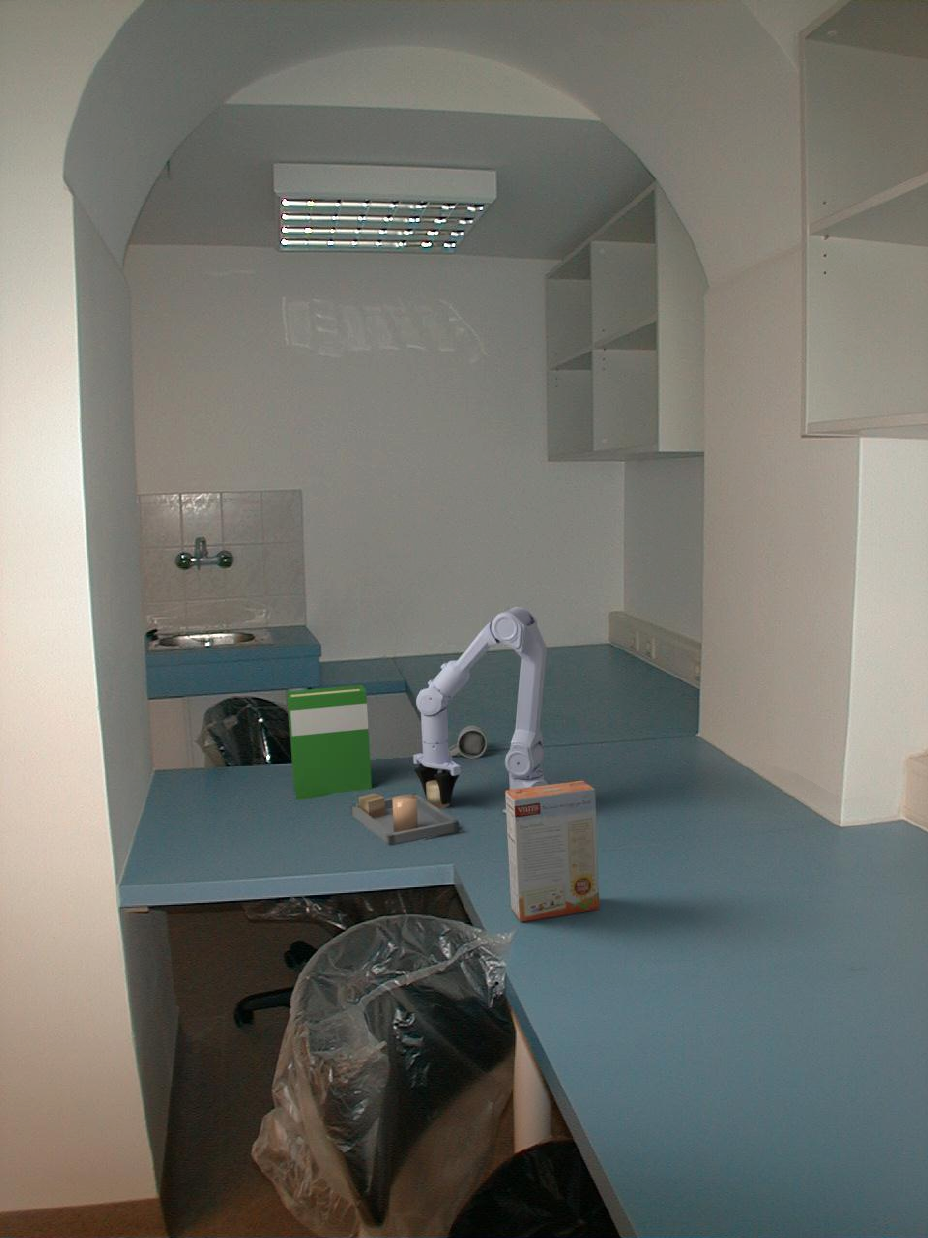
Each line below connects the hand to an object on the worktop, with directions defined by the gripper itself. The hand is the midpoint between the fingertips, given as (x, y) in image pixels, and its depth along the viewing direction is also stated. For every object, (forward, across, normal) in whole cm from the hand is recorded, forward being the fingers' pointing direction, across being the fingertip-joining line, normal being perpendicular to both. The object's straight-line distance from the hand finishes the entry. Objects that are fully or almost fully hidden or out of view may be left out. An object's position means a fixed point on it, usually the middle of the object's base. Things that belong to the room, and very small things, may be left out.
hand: (438, 800), depth 224 cm
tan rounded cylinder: (+1, -8, +14) cm, 16 cm away
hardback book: (+2, +28, +10) cm, 30 cm away
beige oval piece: (+2, 0, 0) cm, 2 cm away
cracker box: (+2, -56, +19) cm, 59 cm away
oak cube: (+1, +5, +14) cm, 15 cm away
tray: (+2, -3, +12) cm, 13 cm away
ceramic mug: (+2, +28, -31) cm, 42 cm away
